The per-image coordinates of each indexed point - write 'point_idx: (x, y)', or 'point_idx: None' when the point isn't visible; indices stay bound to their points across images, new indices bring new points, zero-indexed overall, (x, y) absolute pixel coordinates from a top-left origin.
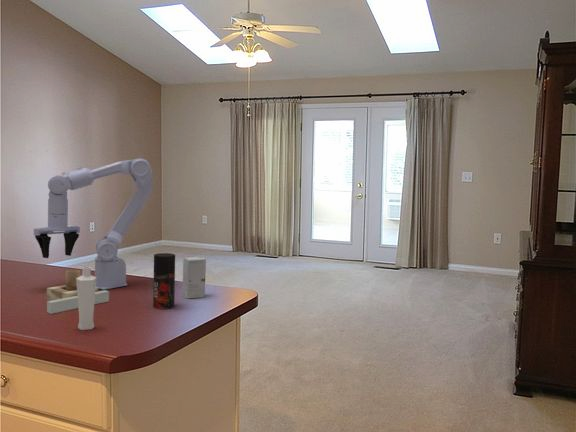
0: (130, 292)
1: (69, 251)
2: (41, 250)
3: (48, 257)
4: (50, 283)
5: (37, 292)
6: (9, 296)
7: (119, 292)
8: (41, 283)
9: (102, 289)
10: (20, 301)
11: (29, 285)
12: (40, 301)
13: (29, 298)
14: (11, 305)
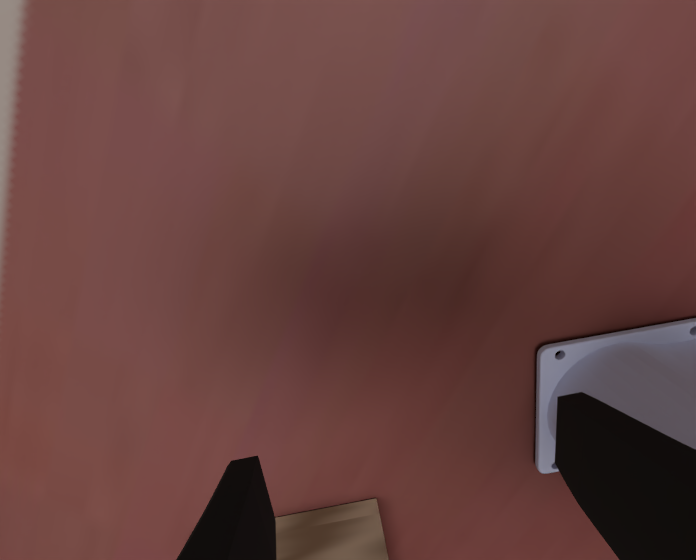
0: (595, 551)
1: (590, 515)
2: (189, 546)
3: (275, 527)
4: (399, 86)
5: (216, 319)
6: (27, 327)
7: (562, 530)
8: (343, 36)
9: (535, 463)
10: (72, 468)
11: (235, 52)
12: (169, 513)
13: (132, 432)
14: (13, 517)
